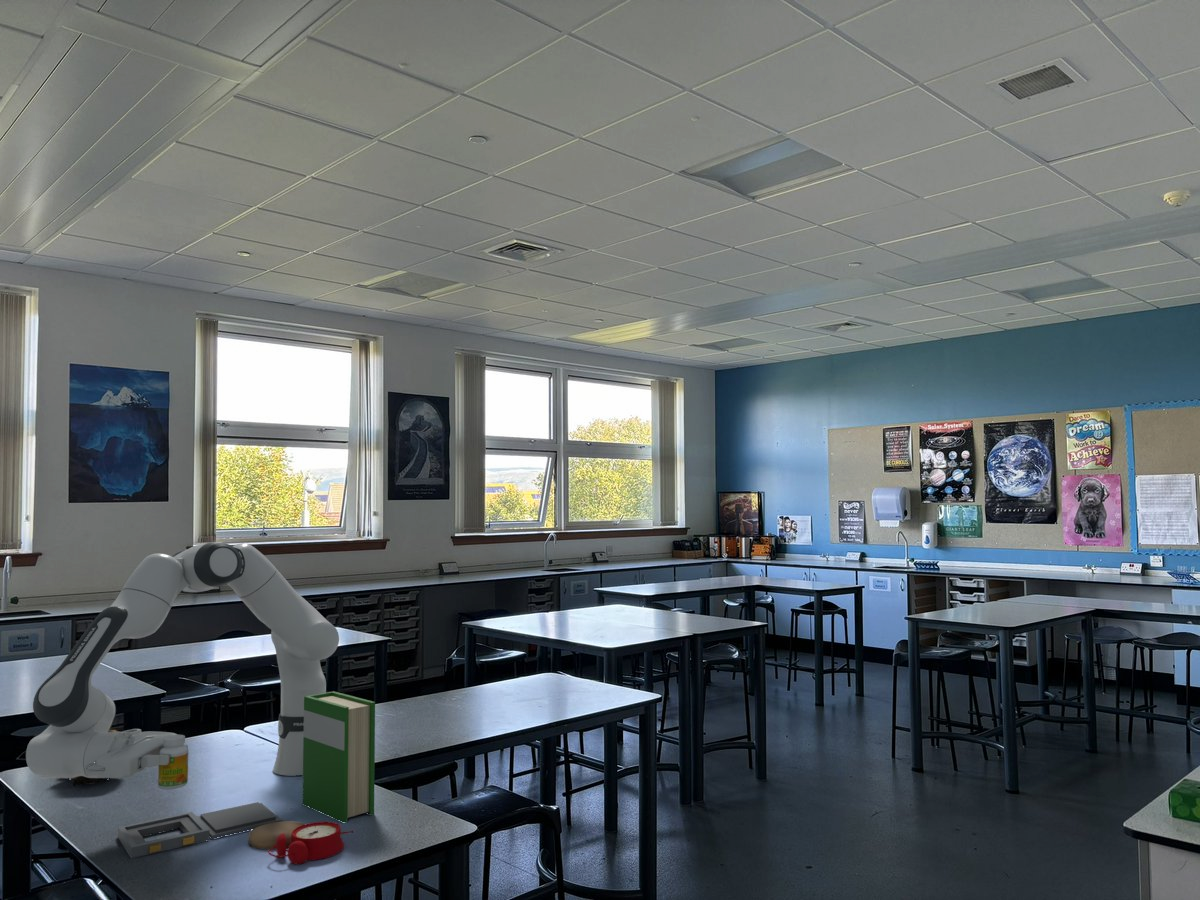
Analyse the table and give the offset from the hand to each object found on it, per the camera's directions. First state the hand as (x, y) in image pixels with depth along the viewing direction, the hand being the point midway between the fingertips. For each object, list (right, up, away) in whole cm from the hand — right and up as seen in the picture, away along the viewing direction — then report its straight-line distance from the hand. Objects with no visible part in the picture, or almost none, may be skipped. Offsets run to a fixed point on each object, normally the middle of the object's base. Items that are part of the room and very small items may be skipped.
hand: (178, 754), depth 175 cm
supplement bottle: (-1, -6, 0) cm, 6 cm away
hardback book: (+28, -18, +15) cm, 36 cm away
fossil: (-40, -20, +40) cm, 60 cm away
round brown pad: (+21, -16, -2) cm, 27 cm away
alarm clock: (+30, -16, -9) cm, 35 cm away
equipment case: (+3, -17, +3) cm, 17 cm away
